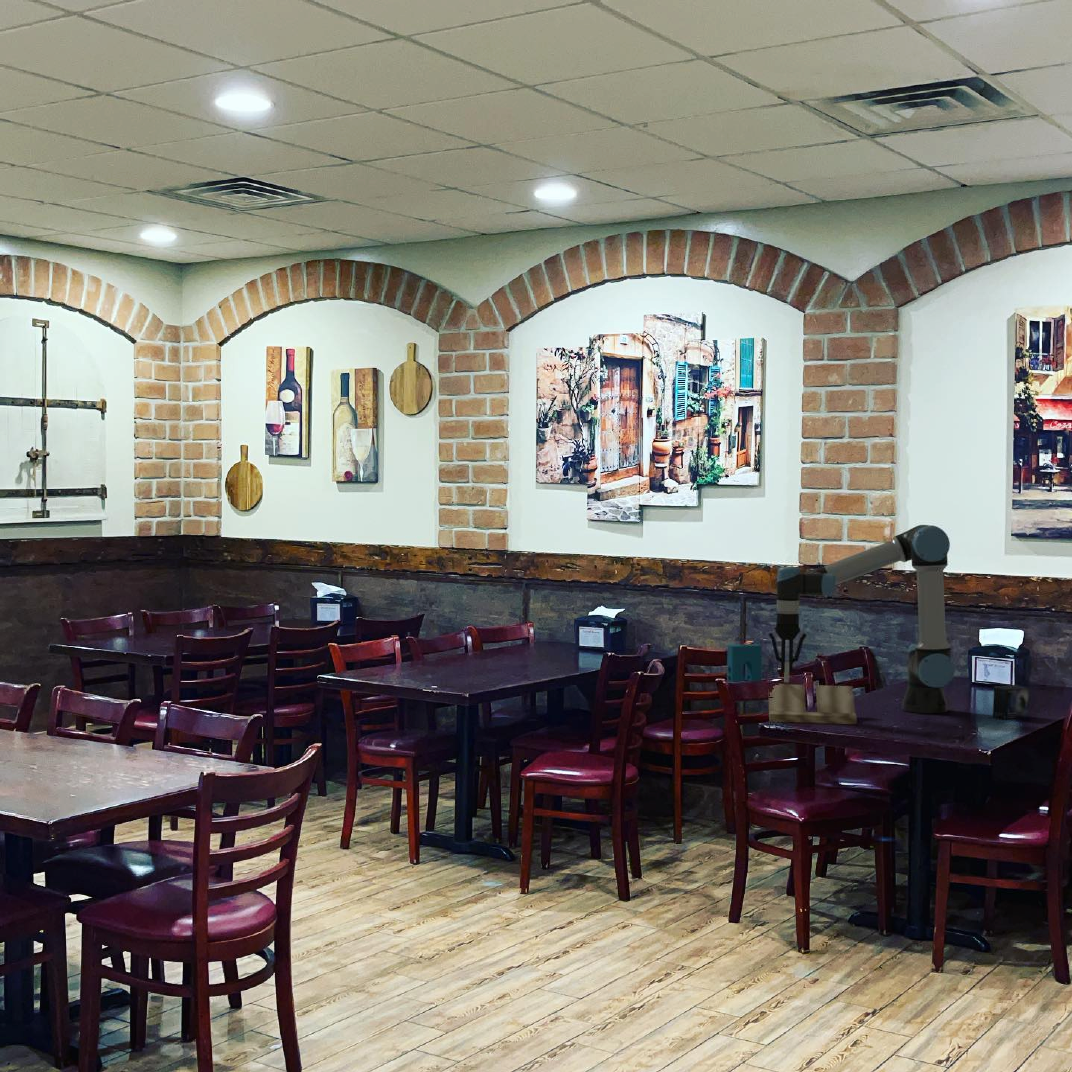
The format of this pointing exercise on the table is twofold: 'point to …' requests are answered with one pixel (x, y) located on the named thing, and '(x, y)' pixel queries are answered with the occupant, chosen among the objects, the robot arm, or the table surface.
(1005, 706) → the small box
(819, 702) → the plank near
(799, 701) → the plank far
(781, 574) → the robot arm
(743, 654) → the block
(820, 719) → the laid floor
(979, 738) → the table surface
